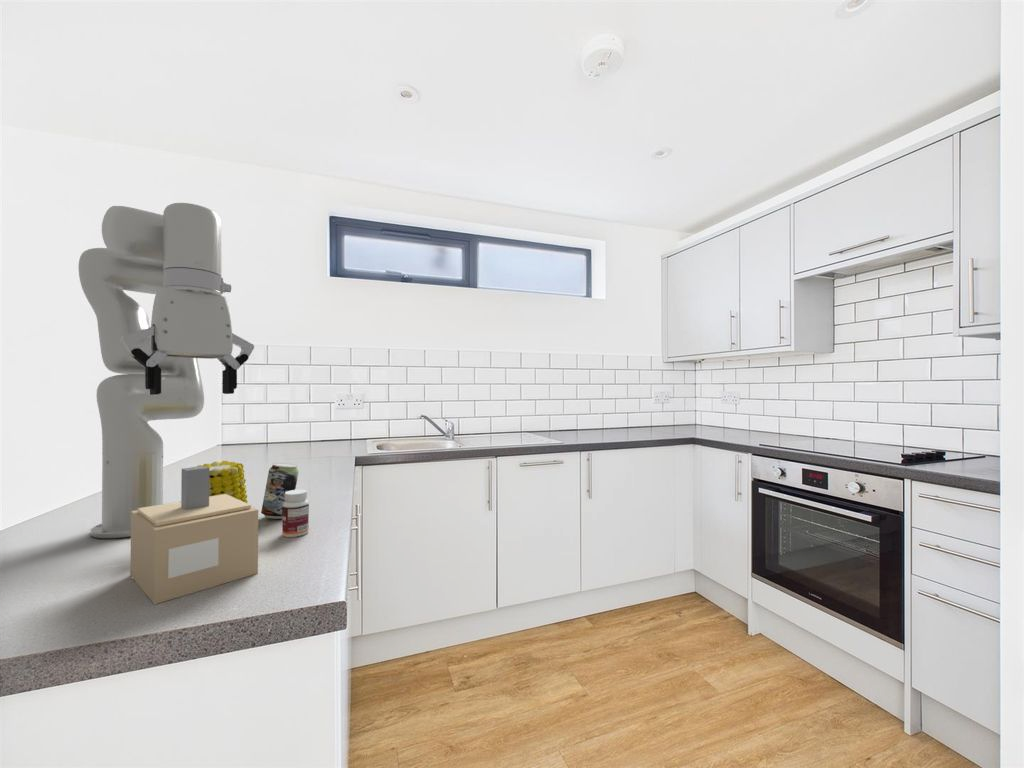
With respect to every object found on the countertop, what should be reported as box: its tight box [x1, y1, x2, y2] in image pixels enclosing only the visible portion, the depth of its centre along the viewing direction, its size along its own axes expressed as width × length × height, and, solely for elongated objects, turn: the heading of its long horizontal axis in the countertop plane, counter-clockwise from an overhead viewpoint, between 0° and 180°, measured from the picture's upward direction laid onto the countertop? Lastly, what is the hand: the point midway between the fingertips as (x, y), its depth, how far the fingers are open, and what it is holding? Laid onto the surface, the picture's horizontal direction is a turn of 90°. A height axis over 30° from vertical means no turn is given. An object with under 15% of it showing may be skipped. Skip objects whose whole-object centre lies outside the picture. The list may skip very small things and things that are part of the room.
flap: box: [137, 466, 252, 526], centre depth 70 cm, size 11×12×6 cm
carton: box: [129, 506, 259, 605], centre depth 70 cm, size 14×13×10 cm
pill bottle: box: [281, 489, 310, 538], centre depth 89 cm, size 5×5×8 cm
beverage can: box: [260, 462, 299, 519], centre depth 100 cm, size 6×7×12 cm
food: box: [195, 460, 249, 503], centre depth 88 cm, size 15×12×10 cm
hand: (193, 394), depth 70 cm, fingers open, 9 cm apart
